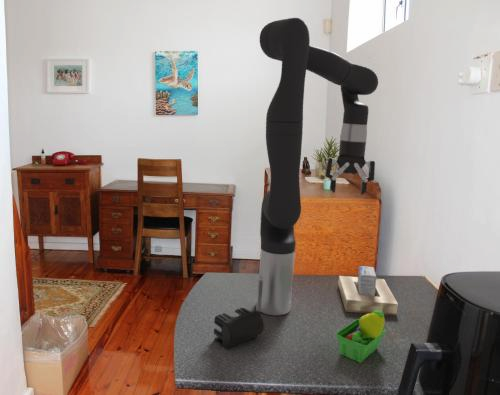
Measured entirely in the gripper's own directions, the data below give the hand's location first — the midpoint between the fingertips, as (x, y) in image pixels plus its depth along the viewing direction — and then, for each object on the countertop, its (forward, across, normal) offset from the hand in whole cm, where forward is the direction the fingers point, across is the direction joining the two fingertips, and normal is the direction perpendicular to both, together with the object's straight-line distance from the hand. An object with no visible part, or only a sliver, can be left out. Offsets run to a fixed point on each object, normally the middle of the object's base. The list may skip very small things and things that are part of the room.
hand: (347, 193), depth 138 cm
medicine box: (+30, +7, -9) cm, 32 cm away
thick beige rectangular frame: (+30, +7, -9) cm, 32 cm away
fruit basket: (+30, +1, -39) cm, 49 cm away
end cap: (+30, -28, -39) cm, 57 cm away
